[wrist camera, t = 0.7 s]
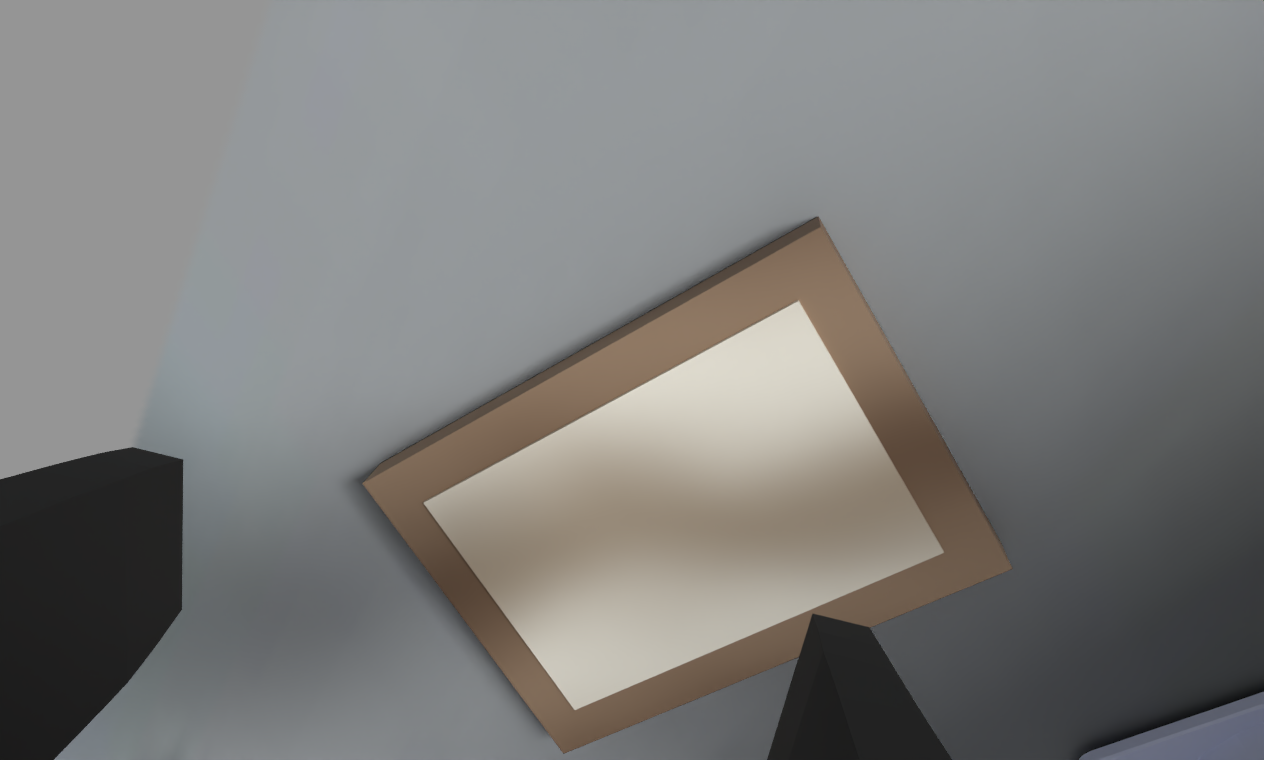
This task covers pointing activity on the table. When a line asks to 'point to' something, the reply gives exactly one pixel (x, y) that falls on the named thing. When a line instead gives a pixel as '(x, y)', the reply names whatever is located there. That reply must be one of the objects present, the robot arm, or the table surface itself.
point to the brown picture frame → (692, 497)
